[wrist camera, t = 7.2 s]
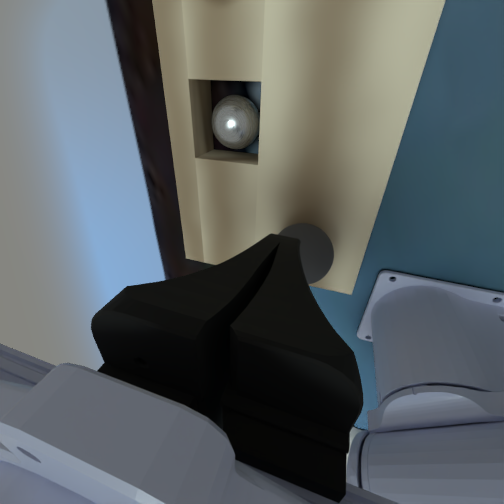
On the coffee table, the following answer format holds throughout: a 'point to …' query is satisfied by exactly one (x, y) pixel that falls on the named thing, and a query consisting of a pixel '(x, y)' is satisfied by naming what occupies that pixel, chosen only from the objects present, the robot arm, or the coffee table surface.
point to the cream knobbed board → (291, 116)
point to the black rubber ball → (312, 250)
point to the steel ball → (235, 121)
